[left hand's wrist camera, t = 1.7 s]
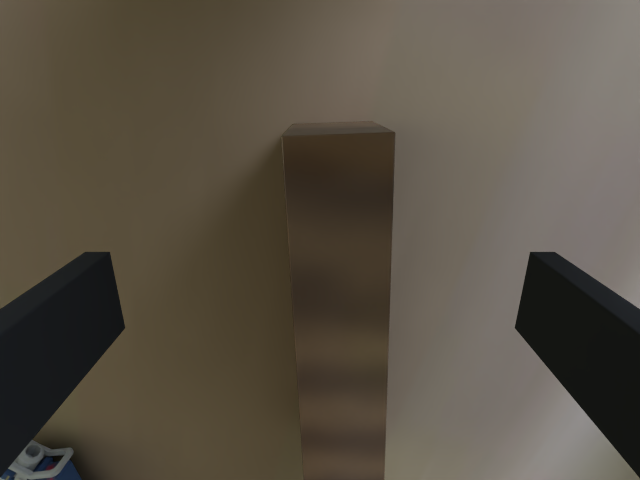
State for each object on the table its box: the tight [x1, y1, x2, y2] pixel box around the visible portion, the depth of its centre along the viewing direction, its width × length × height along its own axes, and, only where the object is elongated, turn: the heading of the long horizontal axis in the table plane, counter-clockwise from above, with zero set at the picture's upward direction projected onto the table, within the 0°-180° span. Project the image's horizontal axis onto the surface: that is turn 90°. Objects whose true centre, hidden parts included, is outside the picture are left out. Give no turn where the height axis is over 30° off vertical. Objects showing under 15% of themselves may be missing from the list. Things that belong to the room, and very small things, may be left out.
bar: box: [281, 121, 395, 480], centre depth 29 cm, size 28×6×9 cm, turn 2°
